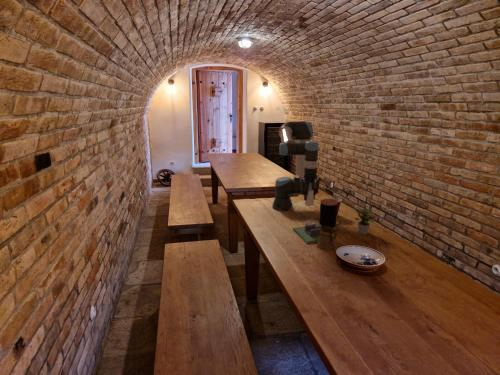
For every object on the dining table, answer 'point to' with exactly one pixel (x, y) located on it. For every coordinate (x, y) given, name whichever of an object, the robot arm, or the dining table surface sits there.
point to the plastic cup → (337, 203)
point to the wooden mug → (327, 237)
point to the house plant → (364, 221)
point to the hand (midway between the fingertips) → (309, 204)
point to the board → (309, 232)
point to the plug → (310, 197)
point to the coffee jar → (328, 212)
